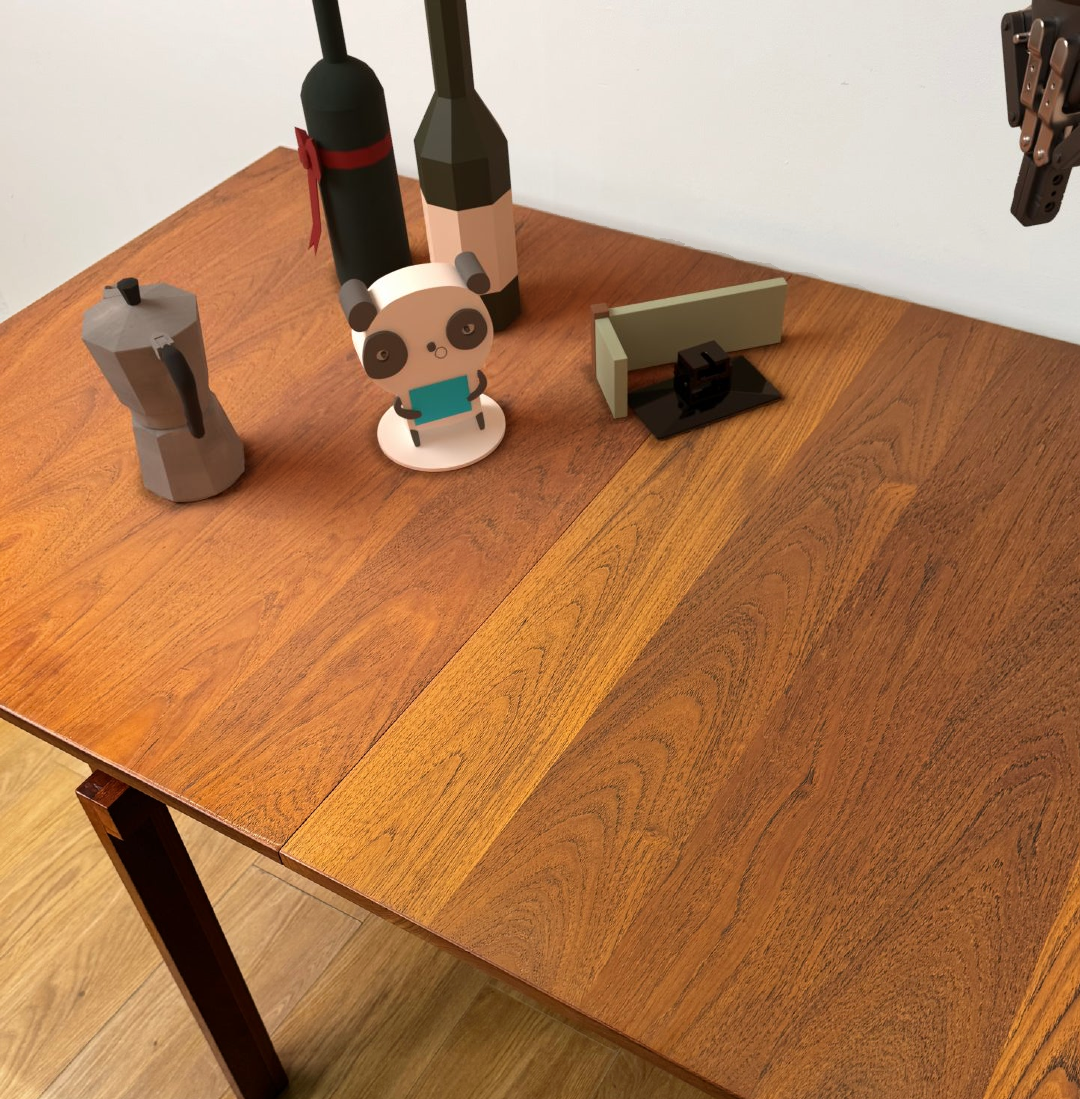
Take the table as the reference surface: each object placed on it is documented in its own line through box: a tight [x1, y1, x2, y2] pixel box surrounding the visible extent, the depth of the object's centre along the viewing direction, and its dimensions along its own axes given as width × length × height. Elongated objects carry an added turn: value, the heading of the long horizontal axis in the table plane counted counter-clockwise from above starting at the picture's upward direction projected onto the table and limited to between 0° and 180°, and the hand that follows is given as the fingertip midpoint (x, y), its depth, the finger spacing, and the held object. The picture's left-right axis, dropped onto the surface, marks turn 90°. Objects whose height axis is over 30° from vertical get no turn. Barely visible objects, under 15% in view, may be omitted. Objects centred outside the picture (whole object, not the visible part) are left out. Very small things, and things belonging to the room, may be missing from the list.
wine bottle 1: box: [294, 0, 414, 290], centre depth 107 cm, size 8×10×30 cm
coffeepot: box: [80, 276, 246, 503], centre depth 93 cm, size 15×9×18 cm, turn 33°
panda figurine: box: [338, 251, 507, 473], centre depth 97 cm, size 12×11×15 cm
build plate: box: [627, 340, 783, 442], centre depth 102 cm, size 12×7×5 cm, turn 114°
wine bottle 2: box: [413, 0, 522, 334], centre depth 102 cm, size 8×8×30 cm
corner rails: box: [589, 276, 788, 419], centre depth 103 cm, size 18×8×7 cm, turn 103°
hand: (1031, 218), depth 69 cm, fingers closed
